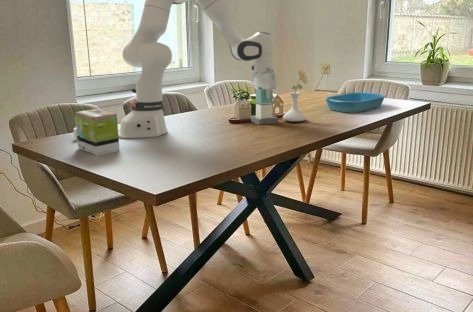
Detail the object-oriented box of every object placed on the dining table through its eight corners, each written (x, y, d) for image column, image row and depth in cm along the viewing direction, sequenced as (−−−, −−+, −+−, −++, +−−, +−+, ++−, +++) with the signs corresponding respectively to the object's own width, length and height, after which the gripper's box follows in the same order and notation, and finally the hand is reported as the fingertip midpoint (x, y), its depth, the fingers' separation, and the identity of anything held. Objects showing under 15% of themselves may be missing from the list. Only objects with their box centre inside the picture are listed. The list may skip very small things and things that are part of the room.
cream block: (260, 118, 230) (260, 105, 228) (255, 116, 235) (255, 104, 233) (272, 117, 232) (272, 104, 230) (267, 115, 237) (267, 103, 236)
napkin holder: (87, 133, 216) (86, 121, 215) (103, 136, 210) (102, 123, 208) (57, 140, 204) (56, 126, 203) (74, 143, 198) (73, 130, 196)
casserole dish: (351, 116, 248) (352, 102, 246) (317, 110, 264) (317, 97, 262) (391, 107, 271) (392, 94, 269) (357, 102, 287) (358, 90, 285)
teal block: (260, 103, 228) (260, 91, 226) (255, 101, 233) (255, 89, 232) (272, 102, 230) (272, 90, 228) (267, 101, 235) (267, 88, 234)
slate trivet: (258, 124, 228) (258, 119, 227) (250, 120, 237) (250, 115, 236) (277, 122, 231) (278, 117, 231) (269, 119, 240) (269, 114, 240)
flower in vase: (294, 124, 228) (295, 70, 221) (277, 121, 236) (278, 69, 230) (313, 120, 236) (315, 68, 229) (296, 117, 244) (297, 67, 237)
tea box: (77, 149, 187) (73, 111, 183) (100, 144, 194) (97, 108, 190) (96, 156, 177) (93, 116, 173) (120, 151, 184) (117, 112, 180)
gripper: (280, 69, 219) (279, 99, 223) (261, 65, 237) (261, 93, 241) (267, 69, 217) (267, 100, 220) (249, 66, 235) (249, 94, 239)
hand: (264, 97), depth 231 cm, fingers open, 6 cm apart
